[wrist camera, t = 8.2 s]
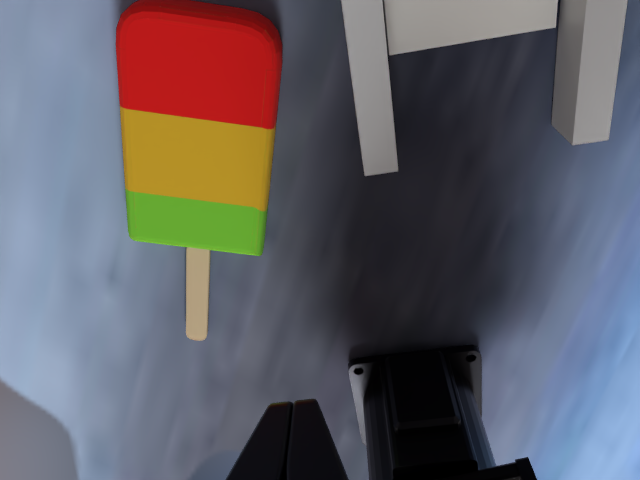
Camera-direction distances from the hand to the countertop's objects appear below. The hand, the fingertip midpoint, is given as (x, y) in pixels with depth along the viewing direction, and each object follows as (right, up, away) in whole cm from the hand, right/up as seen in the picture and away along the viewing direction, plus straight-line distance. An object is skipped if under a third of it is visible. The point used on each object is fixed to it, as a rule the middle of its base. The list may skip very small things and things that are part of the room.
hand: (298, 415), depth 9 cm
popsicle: (-5, +5, +13) cm, 15 cm away
